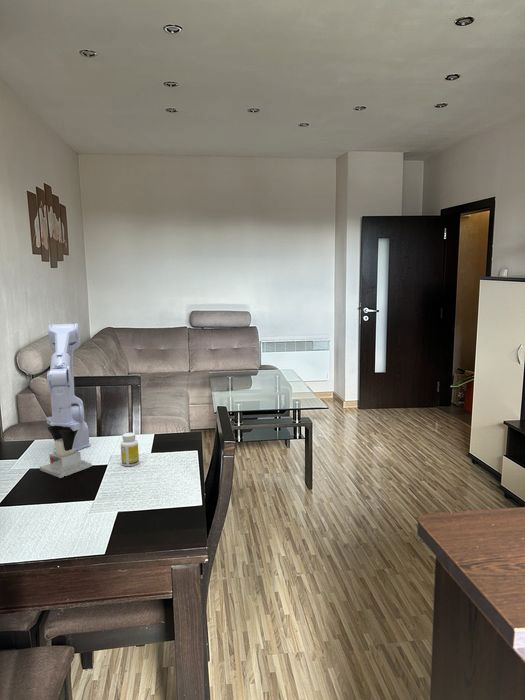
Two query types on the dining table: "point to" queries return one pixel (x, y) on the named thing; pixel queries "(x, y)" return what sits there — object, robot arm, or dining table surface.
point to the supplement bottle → (129, 450)
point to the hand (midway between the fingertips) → (64, 448)
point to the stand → (65, 464)
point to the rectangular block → (62, 448)
